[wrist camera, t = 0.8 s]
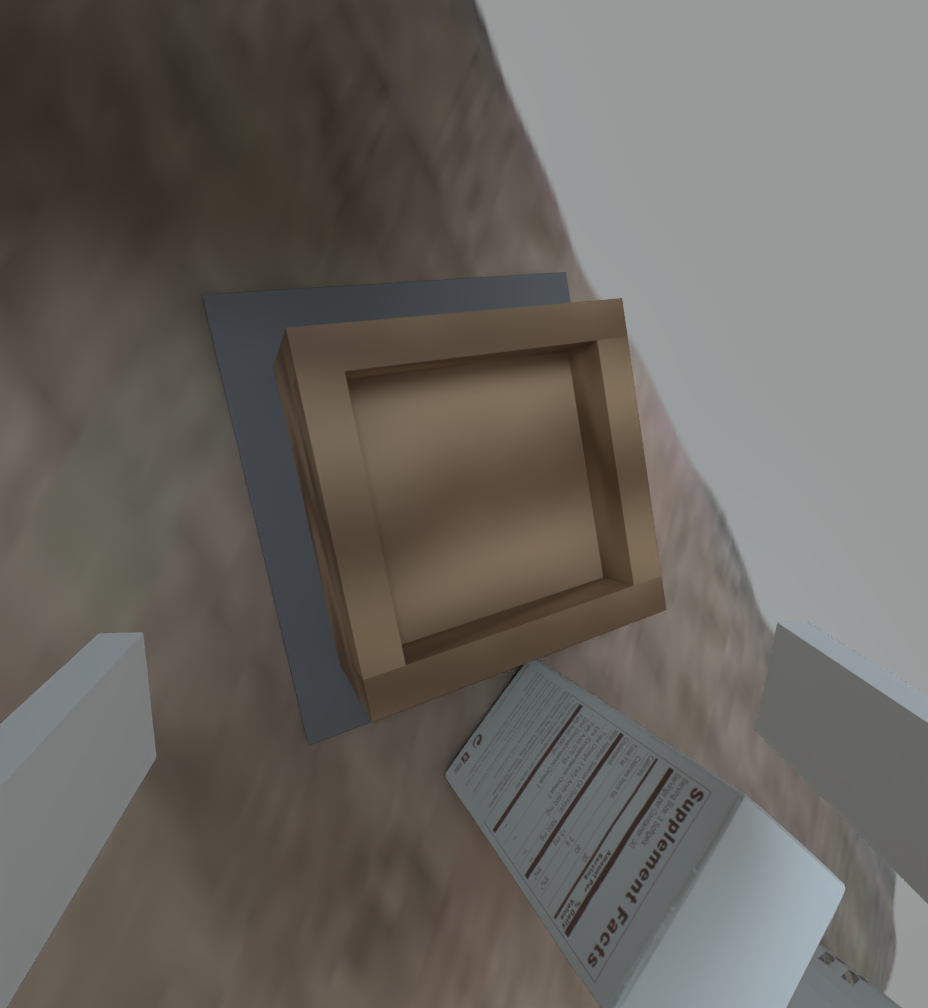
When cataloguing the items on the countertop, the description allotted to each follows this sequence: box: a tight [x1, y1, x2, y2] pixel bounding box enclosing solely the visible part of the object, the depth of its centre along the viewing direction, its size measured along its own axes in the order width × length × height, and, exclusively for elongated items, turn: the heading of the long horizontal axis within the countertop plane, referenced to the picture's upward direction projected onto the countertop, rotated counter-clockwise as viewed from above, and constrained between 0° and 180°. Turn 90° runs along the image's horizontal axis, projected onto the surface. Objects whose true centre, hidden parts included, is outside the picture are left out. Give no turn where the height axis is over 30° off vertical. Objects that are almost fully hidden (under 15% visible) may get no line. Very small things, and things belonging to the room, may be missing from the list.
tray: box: [273, 298, 666, 722], centre depth 22 cm, size 13×13×6 cm
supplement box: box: [445, 659, 845, 1008], centre depth 22 cm, size 7×7×13 cm
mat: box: [202, 272, 570, 745], centre depth 25 cm, size 19×17×1 cm
